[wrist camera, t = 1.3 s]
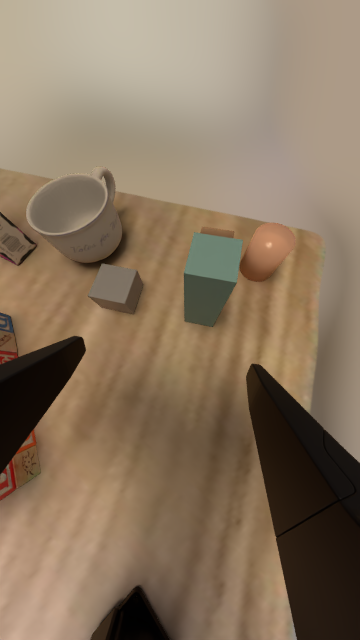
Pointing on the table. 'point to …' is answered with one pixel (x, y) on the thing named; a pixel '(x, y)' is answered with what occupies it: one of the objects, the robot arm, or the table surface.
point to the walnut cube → (217, 232)
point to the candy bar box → (13, 242)
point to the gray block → (116, 288)
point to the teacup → (78, 215)
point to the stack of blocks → (26, 459)
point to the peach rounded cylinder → (266, 251)
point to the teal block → (210, 276)
